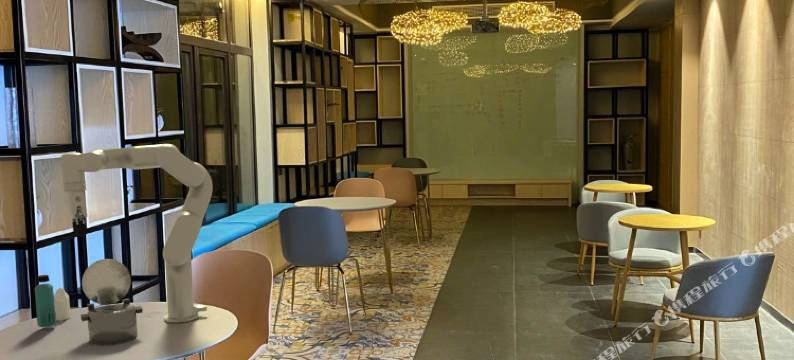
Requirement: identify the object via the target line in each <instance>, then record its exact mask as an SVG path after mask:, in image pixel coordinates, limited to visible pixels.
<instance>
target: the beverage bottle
mask: <svg viewBox="0 0 794 360" xmlns="http://www.w3.org/2000/svg"><path fill="white" fill-rule="evenodd" d="M36 279H37V280H36V282H37V283H38V285H36V287H34V295H35V306H36V307H35V310H36V311H35V312H36V321H37V322H36V323H37V326H38V327H40V328H47V327H52V326H55V325H56V323H57V320H56V311H55V304H54V303H55V302H54V295H55V293H54V286H53V285H52V284H50V283H47V282H49V281H50V276H49V275H48V274H42V275H38V276H37V277H36ZM39 283H41V284H39Z"/></svg>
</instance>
